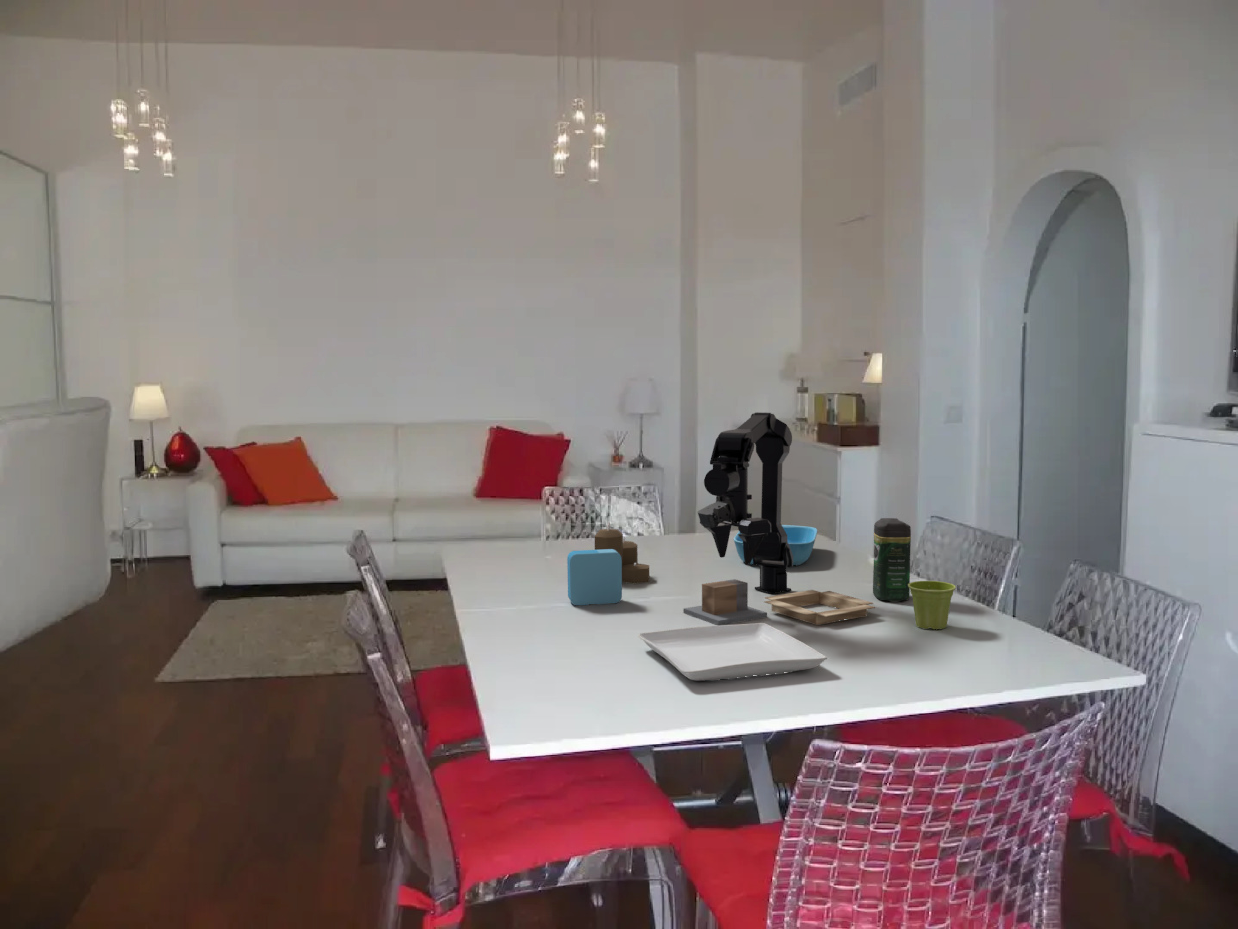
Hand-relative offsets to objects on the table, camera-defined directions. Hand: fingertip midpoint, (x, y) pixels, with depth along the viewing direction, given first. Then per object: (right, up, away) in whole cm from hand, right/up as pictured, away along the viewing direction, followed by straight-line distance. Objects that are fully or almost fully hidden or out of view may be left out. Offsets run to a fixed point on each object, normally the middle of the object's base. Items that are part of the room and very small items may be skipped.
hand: (734, 560), depth 223 cm
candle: (-25, -9, +39) cm, 47 cm away
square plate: (-5, -16, -34) cm, 38 cm away
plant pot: (+40, -13, -11) cm, 43 cm away
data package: (-31, -11, +13) cm, 36 cm away
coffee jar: (+38, -10, +15) cm, 42 cm away
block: (-2, -11, 0) cm, 11 cm away
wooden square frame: (+18, -12, +1) cm, 22 cm away
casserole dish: (+19, -6, +66) cm, 69 cm away
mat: (-2, -12, 0) cm, 12 cm away
